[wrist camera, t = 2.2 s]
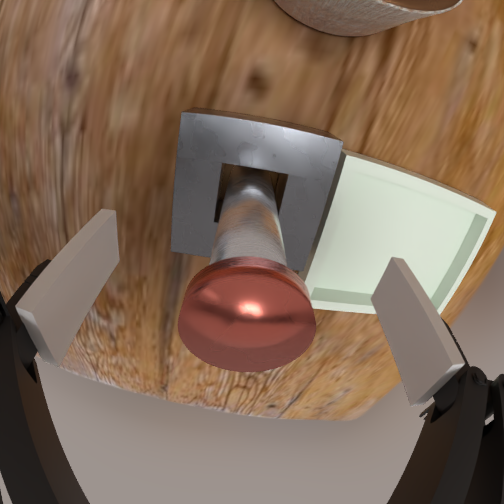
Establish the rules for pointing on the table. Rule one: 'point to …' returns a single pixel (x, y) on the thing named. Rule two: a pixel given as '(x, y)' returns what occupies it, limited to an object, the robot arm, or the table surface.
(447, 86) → the table surface
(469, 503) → the robot arm
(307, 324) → the red capped tube
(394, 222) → the tray
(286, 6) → the planter
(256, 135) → the block
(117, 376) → the table surface
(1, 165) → the table surface
